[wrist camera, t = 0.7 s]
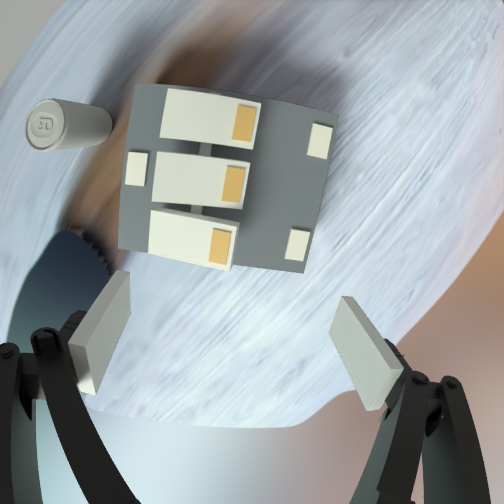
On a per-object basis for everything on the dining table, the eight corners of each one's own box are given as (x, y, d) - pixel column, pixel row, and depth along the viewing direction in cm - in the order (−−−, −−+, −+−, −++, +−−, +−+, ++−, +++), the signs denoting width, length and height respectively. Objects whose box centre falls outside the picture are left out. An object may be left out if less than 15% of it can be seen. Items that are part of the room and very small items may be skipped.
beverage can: (84, 105, 29) (29, 96, 17) (118, 109, 30) (71, 99, 18) (76, 143, 30) (19, 149, 19) (108, 148, 31) (59, 156, 20)
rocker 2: (151, 197, 25) (151, 201, 24) (157, 150, 24) (157, 151, 22) (237, 205, 28) (242, 209, 27) (245, 161, 27) (250, 163, 25)
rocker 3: (154, 247, 29) (147, 253, 27) (158, 206, 27) (150, 210, 26) (232, 265, 28) (229, 272, 27) (239, 222, 27) (236, 227, 25)
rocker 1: (159, 137, 24) (159, 137, 22) (167, 90, 22) (168, 87, 21) (247, 148, 26) (253, 149, 25) (255, 104, 25) (262, 103, 23)
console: (133, 231, 35) (113, 253, 28) (150, 90, 29) (131, 79, 22) (292, 253, 38) (306, 279, 31) (320, 117, 32) (344, 113, 25)
